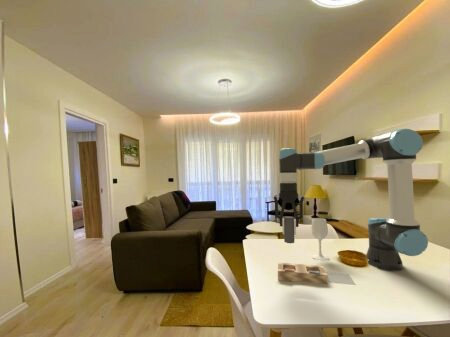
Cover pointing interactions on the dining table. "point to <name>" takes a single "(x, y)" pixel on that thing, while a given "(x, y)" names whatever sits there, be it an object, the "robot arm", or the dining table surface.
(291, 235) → the plug
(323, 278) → the socket block
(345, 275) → the pad
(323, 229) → the wineglass
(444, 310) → the dining table surface
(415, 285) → the dining table surface
